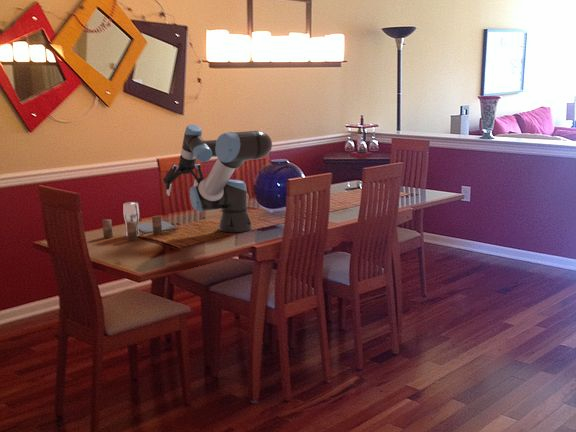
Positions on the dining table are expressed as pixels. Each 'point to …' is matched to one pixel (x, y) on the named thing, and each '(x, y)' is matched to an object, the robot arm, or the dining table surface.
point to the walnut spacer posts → (131, 228)
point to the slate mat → (149, 227)
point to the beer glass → (131, 214)
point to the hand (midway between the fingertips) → (181, 193)
